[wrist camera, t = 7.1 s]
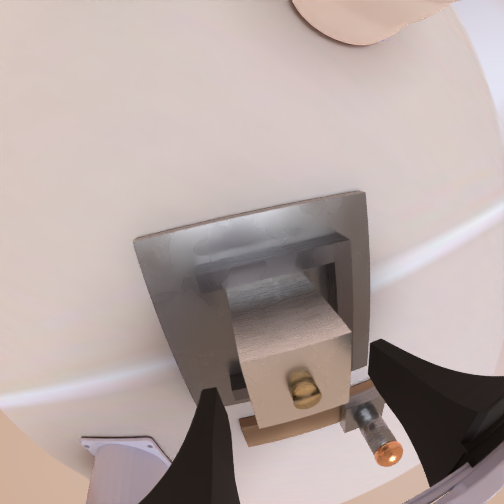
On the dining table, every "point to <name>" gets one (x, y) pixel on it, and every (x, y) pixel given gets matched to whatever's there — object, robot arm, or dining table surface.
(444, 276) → the dining table surface
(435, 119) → the dining table surface
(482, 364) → the dining table surface
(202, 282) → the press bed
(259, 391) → the block
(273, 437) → the rail
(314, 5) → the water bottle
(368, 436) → the lever
